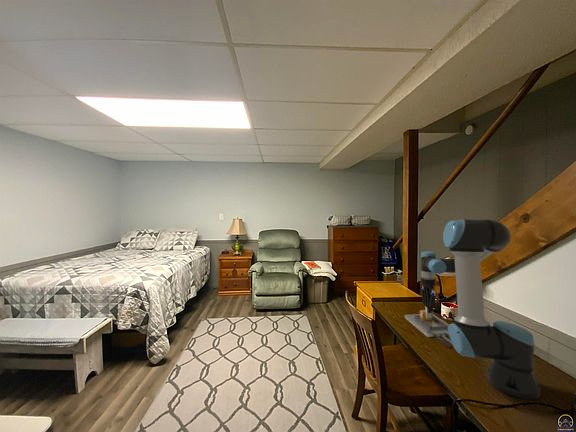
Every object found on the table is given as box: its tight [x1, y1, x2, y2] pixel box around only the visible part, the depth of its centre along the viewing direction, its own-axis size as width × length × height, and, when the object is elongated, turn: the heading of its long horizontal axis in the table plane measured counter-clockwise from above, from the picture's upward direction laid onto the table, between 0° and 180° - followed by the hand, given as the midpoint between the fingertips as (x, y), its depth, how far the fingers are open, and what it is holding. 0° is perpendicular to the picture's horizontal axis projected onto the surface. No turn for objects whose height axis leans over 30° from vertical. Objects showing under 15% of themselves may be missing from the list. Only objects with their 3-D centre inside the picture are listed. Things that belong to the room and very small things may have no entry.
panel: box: [404, 313, 450, 338], centre depth 145 cm, size 24×18×4 cm
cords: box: [434, 335, 453, 349], centre depth 128 cm, size 11×8×1 cm
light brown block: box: [419, 309, 434, 321], centre depth 149 cm, size 3×6×5 cm, turn 92°
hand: (428, 317), depth 147 cm, fingers closed
